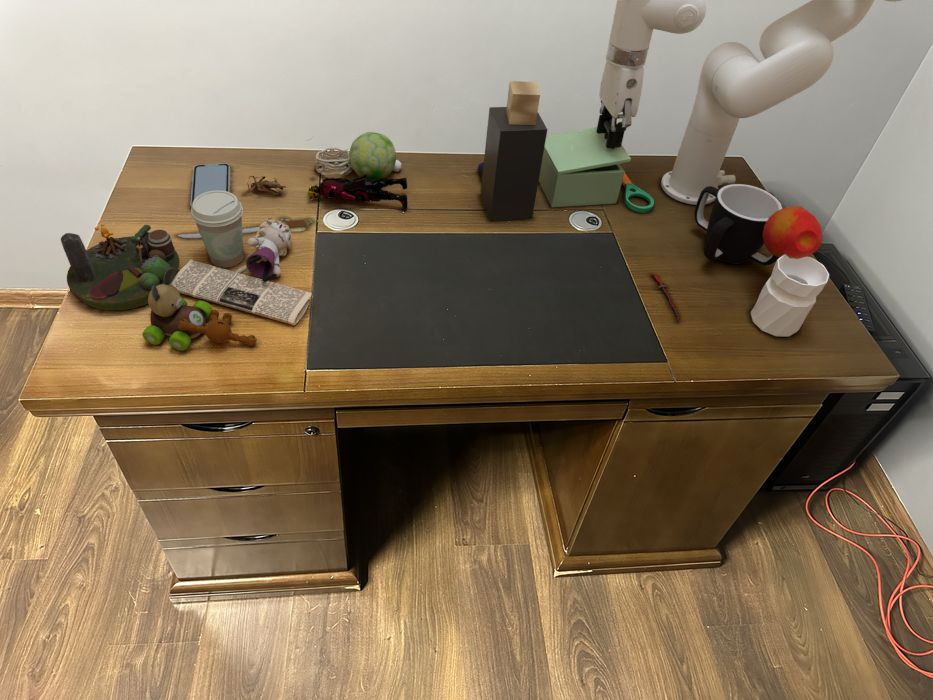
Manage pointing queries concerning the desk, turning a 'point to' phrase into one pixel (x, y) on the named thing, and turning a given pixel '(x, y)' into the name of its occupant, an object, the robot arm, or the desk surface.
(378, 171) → the decorative ball
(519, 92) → the block
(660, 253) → the desk surface
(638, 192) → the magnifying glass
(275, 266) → the toy
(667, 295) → the katana
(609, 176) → the storage box
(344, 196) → the action figure
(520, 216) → the block
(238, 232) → the coffee cup
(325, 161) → the bracelet
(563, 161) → the lid
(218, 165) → the smartphone
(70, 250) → the toy scene
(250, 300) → the newspaper
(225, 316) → the toy figurine
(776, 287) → the vase
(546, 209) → the desk surface
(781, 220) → the apple
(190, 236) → the sword
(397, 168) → the spheres
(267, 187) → the insect
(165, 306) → the toy car
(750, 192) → the mug
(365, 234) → the desk surface
